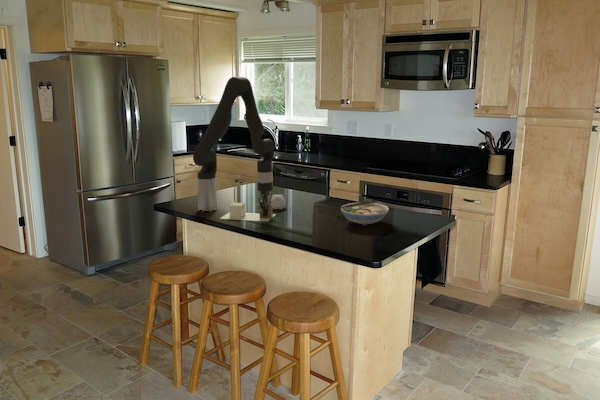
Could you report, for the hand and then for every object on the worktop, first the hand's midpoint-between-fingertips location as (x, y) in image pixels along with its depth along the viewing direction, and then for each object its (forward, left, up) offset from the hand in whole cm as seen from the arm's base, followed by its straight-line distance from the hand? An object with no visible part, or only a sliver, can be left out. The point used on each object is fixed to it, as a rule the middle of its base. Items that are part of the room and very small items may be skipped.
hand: (266, 215), depth 255 cm
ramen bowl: (+48, +3, -2) cm, 48 cm away
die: (0, +19, -2) cm, 19 cm away
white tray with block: (-10, 0, -2) cm, 10 cm away
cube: (-15, 0, -1) cm, 15 cm away
